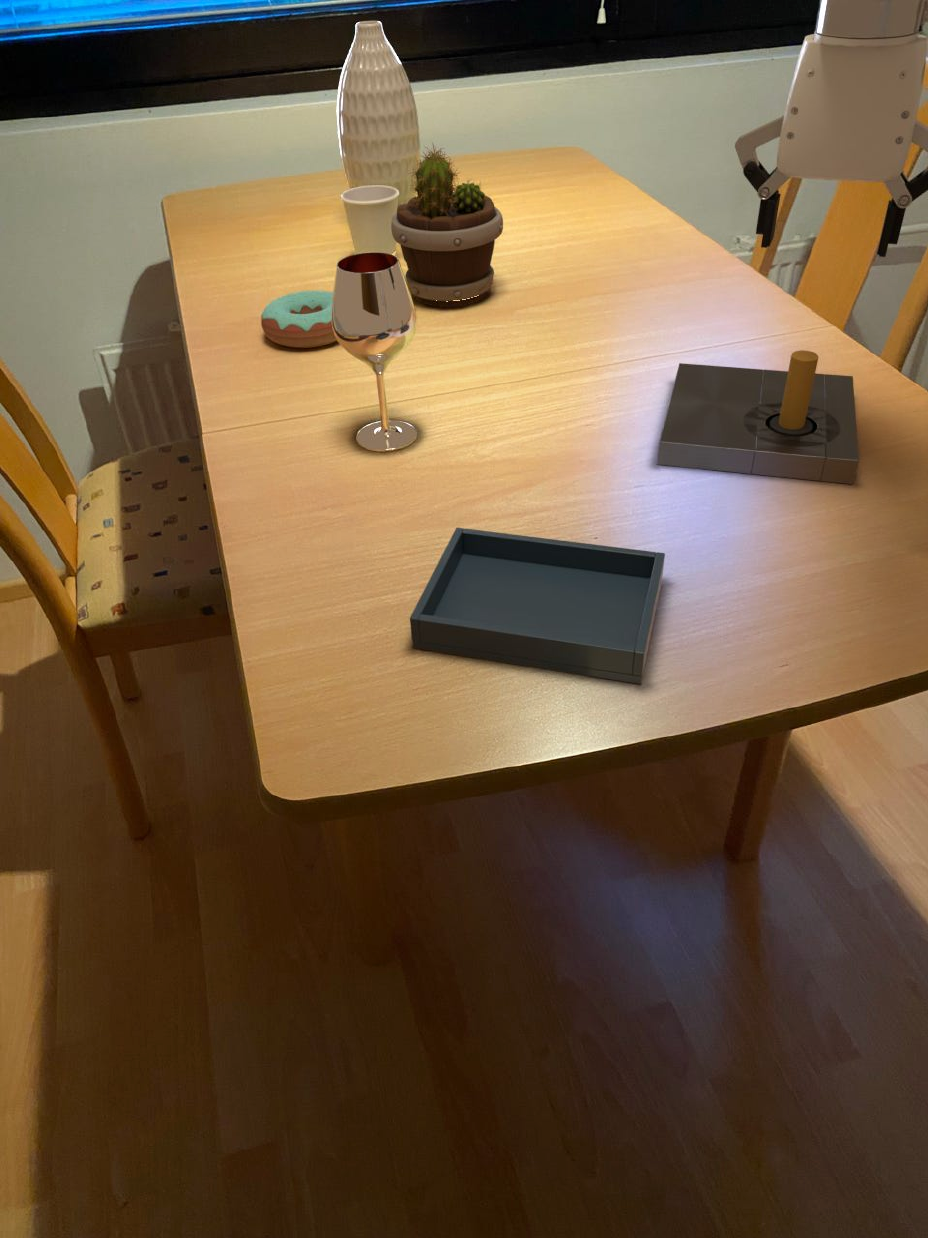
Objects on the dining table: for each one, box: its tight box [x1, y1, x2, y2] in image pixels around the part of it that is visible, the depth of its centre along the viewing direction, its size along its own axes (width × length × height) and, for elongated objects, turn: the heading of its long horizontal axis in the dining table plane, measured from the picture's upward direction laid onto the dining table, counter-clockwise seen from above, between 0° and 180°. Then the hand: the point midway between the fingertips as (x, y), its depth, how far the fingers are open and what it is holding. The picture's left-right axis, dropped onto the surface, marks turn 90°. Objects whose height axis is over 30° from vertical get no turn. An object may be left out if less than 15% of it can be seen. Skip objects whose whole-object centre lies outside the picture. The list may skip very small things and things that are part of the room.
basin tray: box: [409, 527, 666, 685], centre depth 73 cm, size 17×12×3 cm
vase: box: [336, 20, 421, 207], centre depth 145 cm, size 13×13×28 cm
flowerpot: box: [391, 141, 504, 308], centre depth 121 cm, size 14×15×20 cm
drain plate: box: [656, 362, 860, 485], centre depth 94 cm, size 18×18×2 cm
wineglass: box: [331, 252, 418, 453], centre depth 91 cm, size 8×8×18 cm
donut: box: [260, 290, 338, 349], centre depth 118 cm, size 12×12×4 cm
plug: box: [769, 349, 819, 437], centre depth 89 cm, size 4×4×10 cm
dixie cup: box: [340, 185, 399, 254], centre depth 135 cm, size 8×8×10 cm
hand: (823, 247), depth 82 cm, fingers open, 9 cm apart
